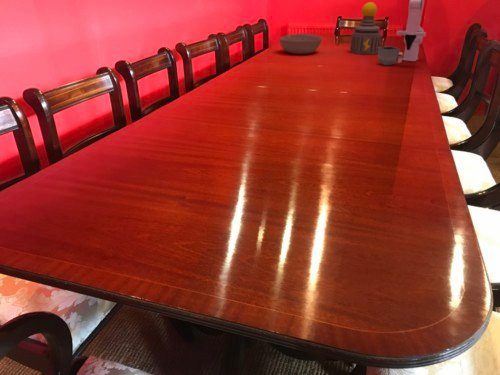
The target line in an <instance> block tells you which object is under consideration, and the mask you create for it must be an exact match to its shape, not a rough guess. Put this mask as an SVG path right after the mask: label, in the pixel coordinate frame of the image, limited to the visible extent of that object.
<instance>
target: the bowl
mask: <svg viewBox="0 0 500 375" xmlns="http://www.w3.org/2000/svg"><path fill="white" fill-rule="evenodd" d="M322 40H323V37H321V36H319V35H316V34H315V35H314V34H307V33H305V34H304V33H300V34H299V33H298V34H287V35H285V36H281V37H280V38H279V39H278V42H279V43H280V46H281V48H282V49H283V51H285V52H286V53H289V54H291V55H292V54H293V55H308V54H312V53H314V52H316V51H317V50H318V48H319V47H320V45H321V43H322Z"/></svg>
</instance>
